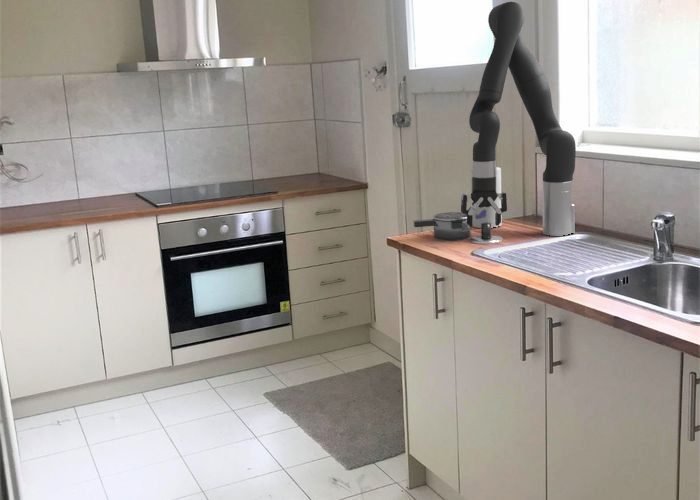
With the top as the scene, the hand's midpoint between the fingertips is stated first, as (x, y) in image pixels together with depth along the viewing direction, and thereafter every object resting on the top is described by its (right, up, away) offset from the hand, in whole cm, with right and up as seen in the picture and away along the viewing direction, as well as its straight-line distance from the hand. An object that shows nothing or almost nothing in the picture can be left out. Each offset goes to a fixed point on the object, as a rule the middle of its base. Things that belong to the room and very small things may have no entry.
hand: (483, 225), depth 247 cm
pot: (-12, -4, +8) cm, 15 cm away
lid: (+1, -5, +1) cm, 5 cm away
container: (+5, +1, +23) cm, 23 cm away
